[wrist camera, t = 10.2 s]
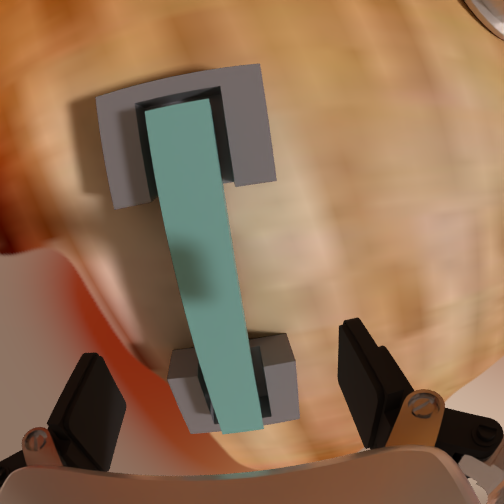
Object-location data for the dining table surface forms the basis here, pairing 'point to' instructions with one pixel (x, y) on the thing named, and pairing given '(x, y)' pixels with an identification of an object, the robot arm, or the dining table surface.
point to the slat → (204, 257)
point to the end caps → (232, 170)
